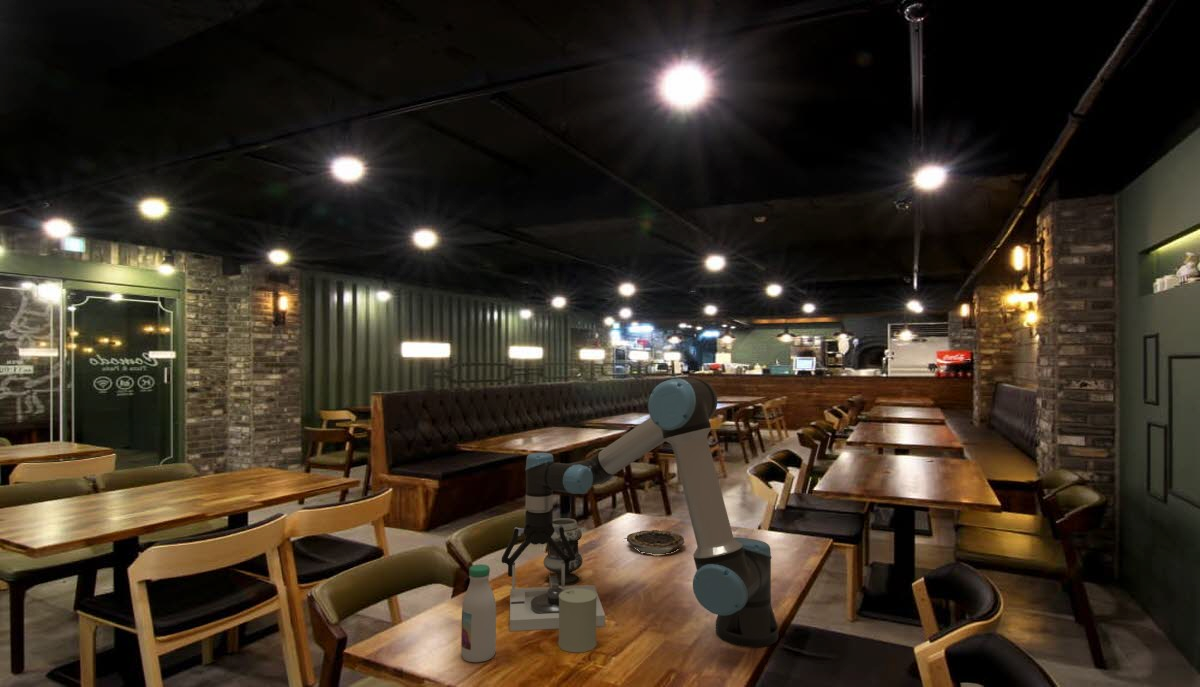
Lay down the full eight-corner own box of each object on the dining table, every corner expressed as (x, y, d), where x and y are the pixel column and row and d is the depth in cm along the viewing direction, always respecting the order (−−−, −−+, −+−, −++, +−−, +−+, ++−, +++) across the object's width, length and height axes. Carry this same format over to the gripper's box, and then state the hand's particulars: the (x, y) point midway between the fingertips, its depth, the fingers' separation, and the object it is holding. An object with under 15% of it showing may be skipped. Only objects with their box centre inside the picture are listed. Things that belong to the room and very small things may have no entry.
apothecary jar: (558, 571, 201) (558, 514, 201) (590, 577, 195) (590, 519, 195) (535, 582, 190) (535, 522, 191) (568, 589, 184) (568, 528, 185)
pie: (705, 546, 230) (705, 533, 230) (673, 568, 207) (673, 552, 207) (638, 535, 245) (638, 522, 245) (601, 553, 222) (601, 539, 222)
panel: (605, 626, 159) (605, 614, 159) (509, 631, 156) (509, 619, 156) (594, 594, 181) (594, 584, 181) (510, 598, 177) (510, 587, 177)
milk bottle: (497, 647, 147) (498, 561, 147) (493, 663, 139) (494, 572, 140) (464, 647, 146) (465, 561, 147) (458, 663, 139) (459, 572, 139)
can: (575, 632, 155) (576, 583, 156) (604, 642, 149) (605, 592, 150) (550, 645, 148) (550, 593, 149) (579, 656, 142) (579, 603, 143)
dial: (581, 614, 163) (581, 592, 163) (531, 617, 161) (531, 595, 161) (575, 591, 179) (575, 572, 179) (529, 594, 177) (530, 573, 177)
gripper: (582, 505, 179) (581, 580, 178) (493, 507, 175) (493, 584, 175) (585, 511, 171) (584, 590, 171) (493, 514, 168) (492, 593, 167)
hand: (538, 587), depth 173 cm, fingers open, 13 cm apart
